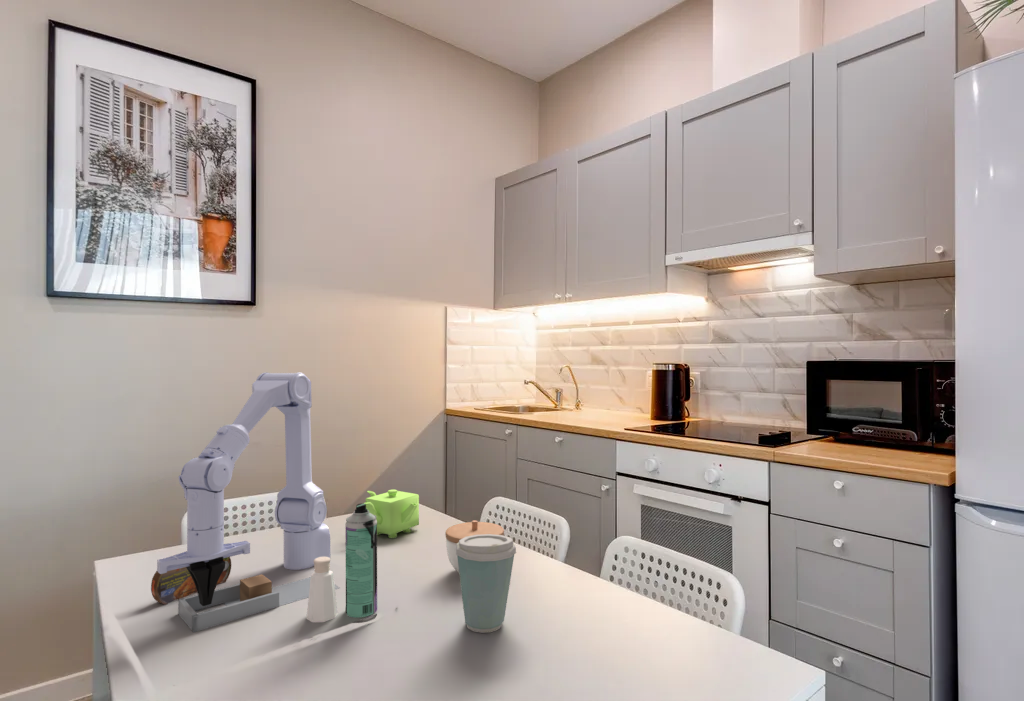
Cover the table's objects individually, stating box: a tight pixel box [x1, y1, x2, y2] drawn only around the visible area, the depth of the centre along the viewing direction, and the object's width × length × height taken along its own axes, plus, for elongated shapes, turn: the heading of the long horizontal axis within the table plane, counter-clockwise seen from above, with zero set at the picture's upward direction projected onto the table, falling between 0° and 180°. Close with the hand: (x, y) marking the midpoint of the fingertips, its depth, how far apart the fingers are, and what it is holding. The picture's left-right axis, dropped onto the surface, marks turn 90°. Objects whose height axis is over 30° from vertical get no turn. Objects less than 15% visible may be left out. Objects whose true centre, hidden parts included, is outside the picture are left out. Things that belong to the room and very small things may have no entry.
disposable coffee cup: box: [455, 534, 517, 633], centre depth 99 cm, size 11×11×15 cm
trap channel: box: [177, 576, 341, 633], centre depth 107 cm, size 26×10×4 cm, turn 133°
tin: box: [150, 557, 232, 606], centre depth 112 cm, size 15×3×8 cm, turn 151°
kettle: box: [364, 489, 420, 539], centre depth 152 cm, size 15×14×11 cm
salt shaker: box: [306, 557, 339, 623], centre depth 101 cm, size 5×5×11 cm
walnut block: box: [239, 574, 273, 602], centre depth 106 cm, size 4×5×4 cm
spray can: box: [345, 502, 378, 624], centre depth 103 cm, size 6×6×20 cm
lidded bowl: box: [444, 519, 505, 576], centre depth 123 cm, size 13×13×11 cm
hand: (205, 603), depth 101 cm, fingers closed
